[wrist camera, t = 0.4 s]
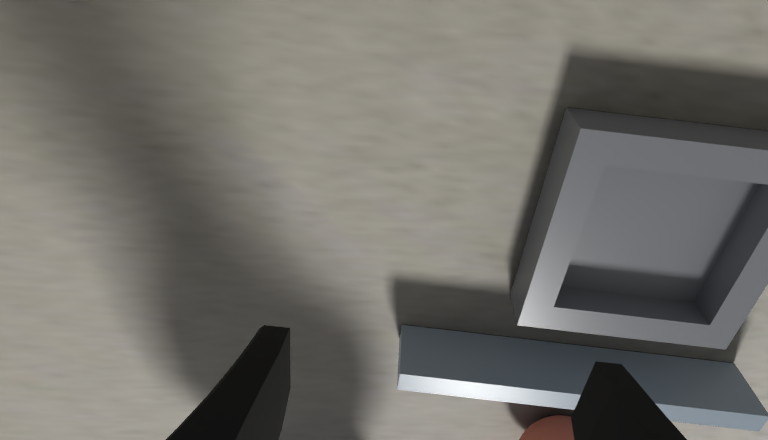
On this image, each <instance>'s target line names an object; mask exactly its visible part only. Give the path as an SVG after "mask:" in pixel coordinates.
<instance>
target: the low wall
mask: <svg viewBox="0 0 768 440" xmlns="http://www.w3.org/2000/svg"><path fill="white" fill-rule="evenodd" d="M596 361H597V362H607V363H616V364H622V365H623V366H624V367H625V369H626V370H627V371H628V372H629V373H630V374H631V375H632V377H633V378H634V379H635V380H636V381H637V382H638V384H639V385H640V386H641V387H642V388H643V390H644V391H645V392H646V393H647V394H648V395H649V397H650V398H651V399H652V400H653V401H654V403H655V404H656V405H657V406H658V407H659V408H660V410H661V411H662V412H663V413H664V414H665V415H666V417H667V418H668V419H669V420H670V421H675V422H683V423H692V424H700V425H709V426H718V427H726V428H735V429H744V430H752V431H760V429H761V428H762V427H763V425H764V424H765V423H766V422H767V420H768V413H767V411H766V410H765V408H764V407H763V405H762V404H761V402H760V401H759V399H758V398H757V396H756V395H755V393H754V392H753V390H752V389H751V387H750V386H749V384H748V383H747V381H746V380H745V379H744V377H743V376H742V374H741V373H740V371H739V370H738V368H737V367H736V365H735V364H734V363H727V362H718V361H710V360H701V359H692V358H684V357H675V356H667V355H658V354H649V353H641V352H632V351H623V350H615V349H606V348H598V347H589V346H580V345H572V344H563V343H555V342H546V341H537V340H529V339H520V338H512V337H503V336H494V335H486V334H477V333H468V332H460V331H451V330H443V329H434V328H425V327H417V326H408V325H402V327H401V334H400V340H399V361H398V383H397V389H398V390H407V391H415V392H424V393H432V394H441V395H450V396H458V397H467V398H476V399H484V400H493V401H502V402H510V403H519V404H528V405H536V406H545V407H553V408H562V409H571V410H575V407H576V405H577V403H578V401H579V398H580V396H581V394H582V391H583V389H584V387H585V384H586V382H587V380H588V378H589V375H590V373H591V371H592V368H593V366H594V364H595V362H596Z"/></svg>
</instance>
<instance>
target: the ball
mask: <svg viewBox="0 0 768 440" xmlns="http://www.w3.org/2000/svg"><path fill="white" fill-rule="evenodd" d="M519 440H574V434H573V428H572V422H571V417H570V416H564V415H555V416H549V417H545V418H542V419H540V420H538V421H536V422H535V423H533V424H532V425H530V426H529V427H528V428H527V429H526V430H525V431H524V433H523V434H522V436H521V437H520V439H519Z"/></svg>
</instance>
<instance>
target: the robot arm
mask: <svg viewBox="0 0 768 440" xmlns="http://www.w3.org/2000/svg"><path fill="white" fill-rule="evenodd" d="M289 391H290V328H284V327H275V326H266V325H264V326H263V327H261V328H260V329H259V330H258V332H257V333H256V335H255V336H254V338H253V339H252V340H251V342H250V343H249V345H248V346H247V347H246V349H245V350H244V351H243V353H242V354H241V355H240V357H239V358H238V359H237V360H236V362H235V363H234V364H233V366H232V367H231V368H230V369H229V371H228V372H227V373H226V374H225V375H224V377H223V378H222V379H221V380H220V381H219V383H218V384H217V385H216V386H215V387H214V388H213V390H212V391H211V392H210V393H209V394H208V396H207V397H206V398H205V399H204V400H203V401H202V402H201V403H200V404H199V405H198V407H197V408H196V409H195V410H194V411H193V412H192V413H191V414H190V415H189V416H188V417H187V418H186V419H185V420H184V422H183V423H182V424H181V425H180V426H179V427H178V428H177V429H176V430H175V431H174V432H173V433H172V434H171V435H170V436H169V437H168V438H167V439H166V440H278V438H279V435H280V432H281V429H282V424H283V420H284V415H285V411H286V406H287V401H288V396H289ZM571 422H572V428H573V434H574V440H687V439H686V438H685V437H684V436H683V435H682V434H681V433H680V431H679V430H678V429H677V428H676V427H675V426H674V425H673V423H672V422H671V421H670V420H669V419H668V418H667V417H666V415H665V414H664V413H663V412H662V411H661V410H660V408H659V407H658V406H657V405H656V404H655V403H654V401H653V400H652V399H651V398H650V397H649V395H648V394H647V393H646V392H645V391H644V390H643V388H642V387H641V386H640V385H639V384H638V382H637V381H636V380H635V379H634V378H633V377H632V375H631V374H630V373H629V372H628V371H627V370H626V369H625V367H624V366H623V365H622V364H616V363H607V362H597V361H596V362H595V364H594V366H593V368H592V371H591V373H590V375H589V378H588V380H587V382H586V384H585V387H584V389H583V391H582V394H581V396H580V398H579V401H578V403H577V405H576V407H575V410H574V412H573V414H572V417H571Z"/></svg>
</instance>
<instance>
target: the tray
mask: <svg viewBox="0 0 768 440" xmlns="http://www.w3.org/2000/svg"><path fill="white" fill-rule="evenodd" d="M767 284H768V131H762V130H754V129H745V128H737V127H728V126H720V125H711V124H703V123H694V122H686V121H677V120H669V119H660V118H652V117H643V116H635V115H626V114H618V113H609V112H601V111H592V110H584V109H575V108H567V107H566V110H565V113H564V117H563V120H562V123H561V127H560V130H559V133H558V137H557V140H556V143H555V147H554V150H553V153H552V157H551V160H550V163H549V167H548V170H547V173H546V176H545V180H544V183H543V186H542V190H541V193H540V196H539V200H538V203H537V206H536V210H535V213H534V216H533V220H532V223H531V226H530V230H529V233H528V236H527V240H526V243H525V246H524V250H523V253H522V256H521V260H520V263H519V266H518V270H517V273H516V276H515V280H514V283H513V286H512V290H511V293H510V296H511V300H512V305H513V309H514V313H515V318H516V322H517V325H519V326H527V327H536V328H544V329H553V330H562V331H570V332H579V333H588V334H596V335H605V336H613V337H622V338H631V339H639V340H648V341H656V342H665V343H674V344H682V345H691V346H699V347H708V348H717V349H725V350H726V349H727V347H728V345H729V344H730V342H731V341H732V339H733V338H734V336H735V334H736V333H737V331H738V330H739V328H740V327H741V325H742V323H743V322H744V320H745V319H746V317H747V316H748V314H749V312H750V311H751V309H752V308H753V306H754V305H755V303H756V302H757V300H758V298H759V297H760V295H761V294H762V292H763V291H764V289H765V287H766V286H767Z"/></svg>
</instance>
